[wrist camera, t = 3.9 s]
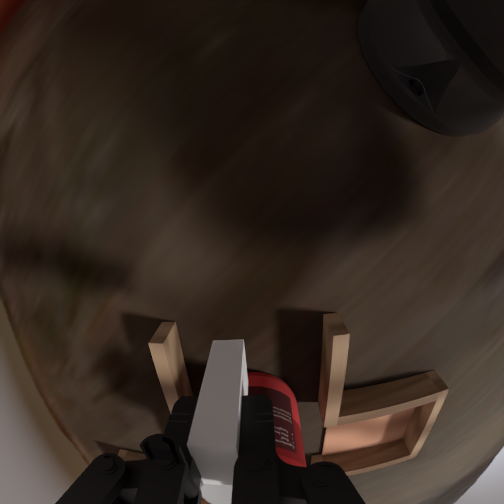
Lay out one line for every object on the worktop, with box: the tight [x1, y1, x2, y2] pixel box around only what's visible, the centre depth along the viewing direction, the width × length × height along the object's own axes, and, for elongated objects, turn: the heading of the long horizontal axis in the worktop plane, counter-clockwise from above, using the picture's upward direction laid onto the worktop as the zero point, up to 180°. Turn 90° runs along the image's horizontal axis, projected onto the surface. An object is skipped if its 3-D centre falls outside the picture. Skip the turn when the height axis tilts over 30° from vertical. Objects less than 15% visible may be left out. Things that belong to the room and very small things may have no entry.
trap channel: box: [118, 313, 449, 504], centre depth 25 cm, size 38×38×4 cm
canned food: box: [200, 372, 306, 504], centre depth 19 cm, size 8×8×11 cm
